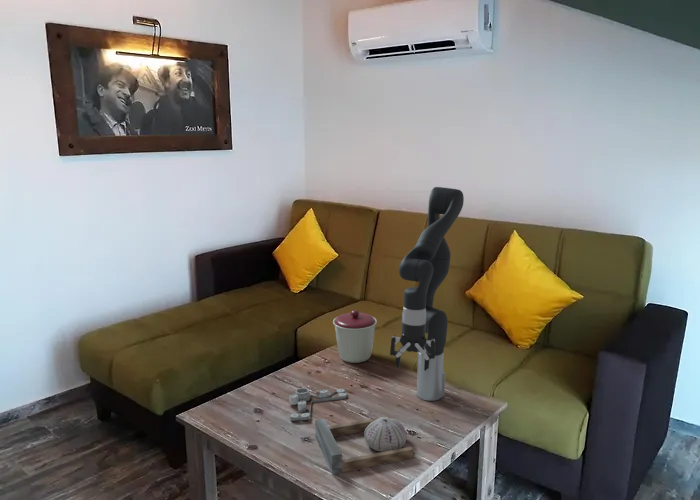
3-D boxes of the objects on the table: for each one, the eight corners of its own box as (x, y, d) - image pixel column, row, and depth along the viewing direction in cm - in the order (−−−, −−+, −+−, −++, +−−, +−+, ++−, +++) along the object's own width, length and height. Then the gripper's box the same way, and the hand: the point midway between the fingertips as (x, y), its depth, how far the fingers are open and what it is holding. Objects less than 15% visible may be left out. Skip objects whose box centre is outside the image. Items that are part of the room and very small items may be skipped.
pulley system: (269, 414, 197) (300, 426, 187) (268, 401, 196) (300, 413, 187) (321, 387, 218) (352, 397, 208) (321, 375, 217) (352, 385, 207)
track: (389, 424, 188) (389, 407, 187) (413, 458, 169) (413, 440, 168) (315, 437, 181) (315, 420, 180) (332, 474, 162) (331, 455, 161)
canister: (324, 359, 238) (323, 311, 233) (352, 345, 251) (352, 300, 246) (358, 371, 226) (357, 321, 221) (385, 356, 240) (385, 309, 235)
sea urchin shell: (414, 438, 180) (414, 416, 178) (395, 461, 168) (395, 437, 166) (376, 427, 186) (376, 405, 184) (356, 448, 175) (356, 424, 173)
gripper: (437, 318, 182) (434, 366, 186) (392, 315, 185) (391, 362, 188) (436, 326, 175) (433, 375, 178) (390, 322, 178) (388, 371, 181)
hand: (411, 368), depth 183 cm, fingers open, 8 cm apart
